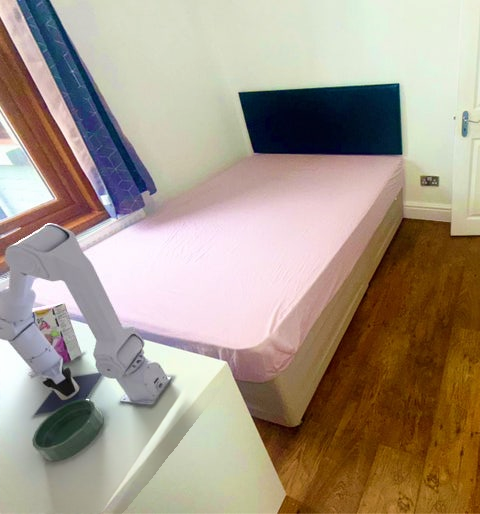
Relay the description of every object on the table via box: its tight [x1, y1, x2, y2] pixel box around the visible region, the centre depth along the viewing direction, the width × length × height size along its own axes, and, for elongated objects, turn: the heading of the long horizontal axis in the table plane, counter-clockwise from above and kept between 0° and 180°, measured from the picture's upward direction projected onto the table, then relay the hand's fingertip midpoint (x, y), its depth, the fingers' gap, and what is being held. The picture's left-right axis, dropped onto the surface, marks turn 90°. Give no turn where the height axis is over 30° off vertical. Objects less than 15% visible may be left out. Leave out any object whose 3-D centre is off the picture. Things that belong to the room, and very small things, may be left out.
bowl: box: [31, 398, 104, 462], centre depth 79 cm, size 12×12×4 cm
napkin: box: [34, 372, 103, 415], centre depth 92 cm, size 12×11×1 cm
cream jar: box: [51, 376, 79, 400], centre depth 90 cm, size 4×4×5 cm
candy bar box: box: [32, 302, 83, 364], centre depth 102 cm, size 11×5×16 cm, turn 94°
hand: (67, 389), depth 91 cm, fingers closed on cream jar, 4 cm apart
